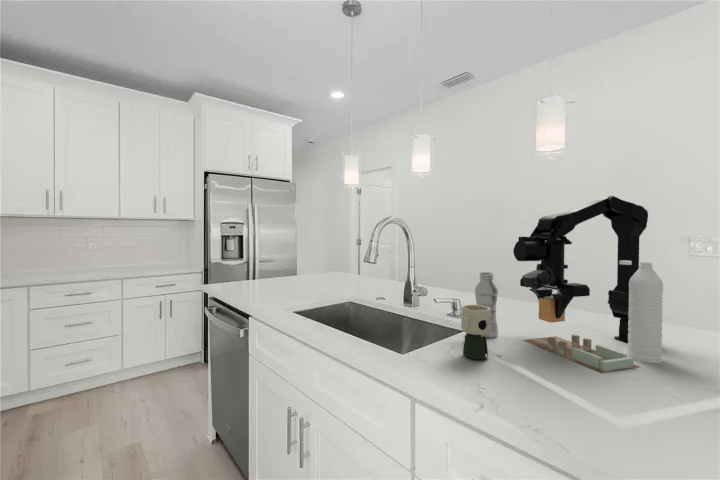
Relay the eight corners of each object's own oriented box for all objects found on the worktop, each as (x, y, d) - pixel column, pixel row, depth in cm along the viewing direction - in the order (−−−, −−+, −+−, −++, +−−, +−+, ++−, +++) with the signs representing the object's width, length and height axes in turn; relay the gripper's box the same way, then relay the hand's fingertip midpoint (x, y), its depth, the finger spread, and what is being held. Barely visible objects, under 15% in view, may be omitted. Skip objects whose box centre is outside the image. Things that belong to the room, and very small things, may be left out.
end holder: (598, 354, 88) (598, 344, 88) (633, 367, 79) (633, 356, 79) (571, 357, 85) (572, 347, 85) (604, 371, 77) (604, 360, 77)
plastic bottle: (500, 343, 100) (500, 274, 100) (475, 341, 102) (476, 274, 101) (496, 336, 107) (496, 272, 106) (473, 335, 108) (473, 271, 107)
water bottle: (665, 364, 84) (667, 262, 83) (655, 370, 81) (658, 263, 80) (623, 353, 91) (624, 259, 91) (612, 358, 88) (614, 261, 87)
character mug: (477, 366, 83) (477, 313, 83) (451, 358, 88) (451, 308, 88) (498, 355, 90) (498, 306, 90) (473, 348, 96) (473, 302, 95)
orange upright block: (552, 317, 99) (553, 295, 99) (564, 321, 95) (565, 298, 95) (538, 318, 98) (539, 296, 97) (550, 322, 94) (550, 299, 94)
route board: (555, 340, 103) (555, 326, 102) (640, 372, 79) (641, 354, 79) (522, 344, 99) (522, 329, 99) (600, 378, 76) (601, 359, 76)
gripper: (505, 258, 103) (504, 310, 103) (556, 264, 85) (555, 327, 85) (535, 257, 106) (535, 308, 106) (591, 263, 88) (590, 324, 88)
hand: (551, 316), depth 96 cm, fingers closed on orange upright block, 4 cm apart
